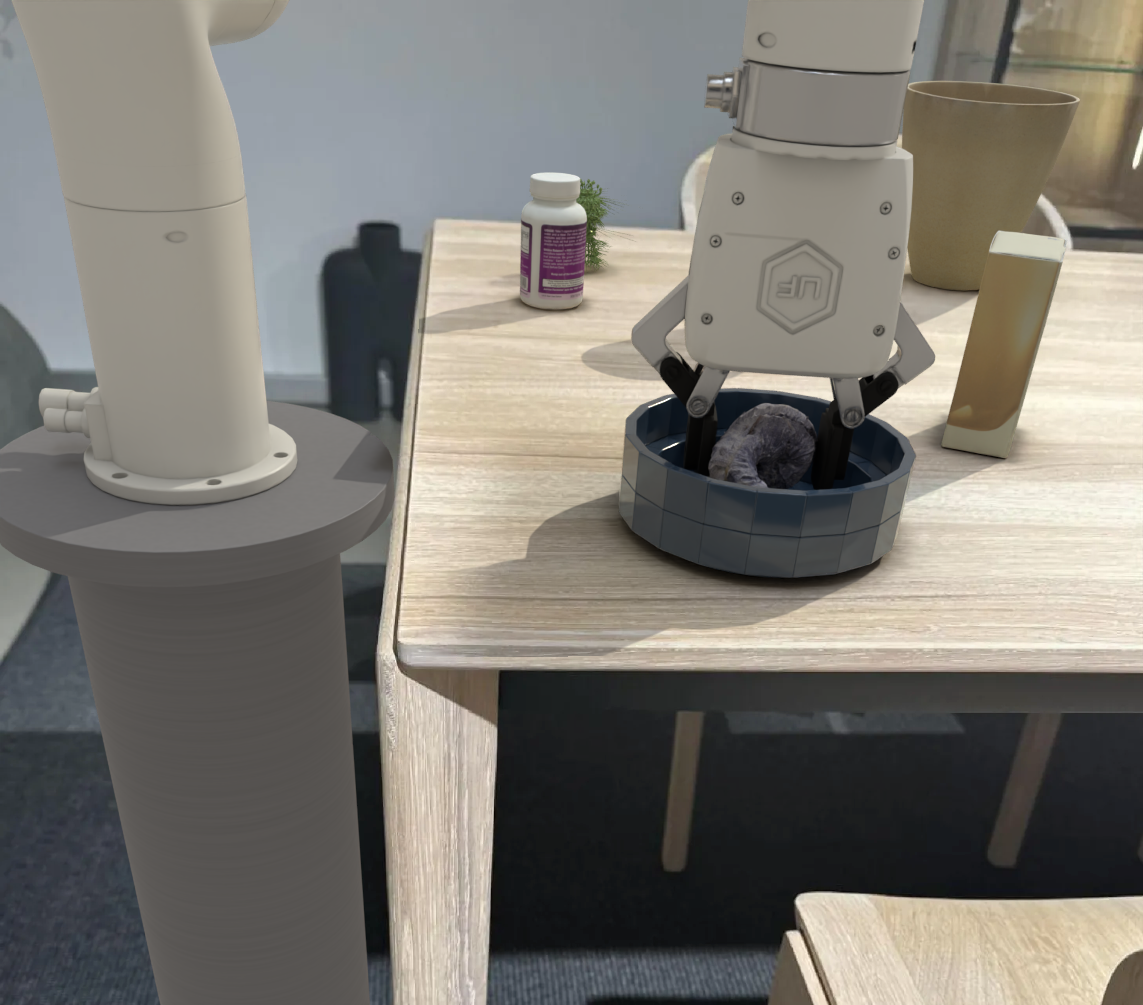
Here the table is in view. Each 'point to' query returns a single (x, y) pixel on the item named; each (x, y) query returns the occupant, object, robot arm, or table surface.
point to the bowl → (762, 495)
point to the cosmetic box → (1003, 341)
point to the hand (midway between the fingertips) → (760, 483)
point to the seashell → (765, 448)
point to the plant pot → (976, 170)
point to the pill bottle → (553, 243)
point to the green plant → (594, 220)
